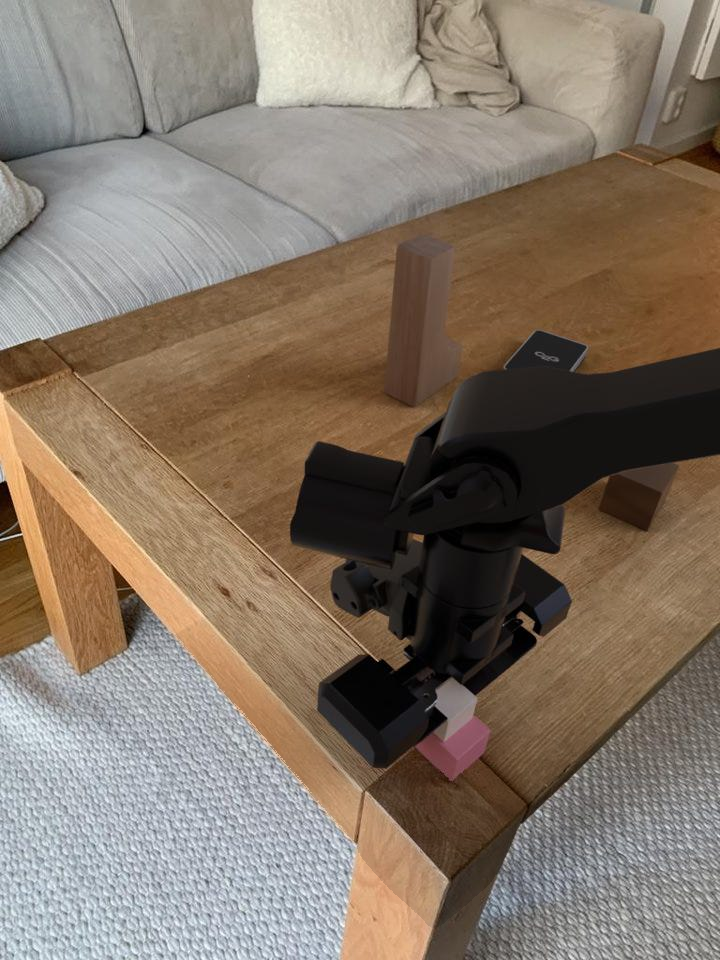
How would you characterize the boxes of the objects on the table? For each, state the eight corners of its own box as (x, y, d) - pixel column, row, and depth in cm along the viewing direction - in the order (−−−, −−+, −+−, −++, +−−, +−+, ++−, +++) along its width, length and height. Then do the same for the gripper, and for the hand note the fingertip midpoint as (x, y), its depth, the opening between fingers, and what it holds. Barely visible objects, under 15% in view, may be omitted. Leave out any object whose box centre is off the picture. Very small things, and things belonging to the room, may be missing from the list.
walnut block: (664, 503, 81) (679, 465, 78) (647, 531, 78) (662, 492, 75) (616, 483, 83) (629, 445, 80) (598, 509, 80) (611, 471, 77)
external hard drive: (499, 382, 96) (501, 368, 95) (533, 342, 104) (536, 328, 102) (554, 402, 94) (558, 387, 92) (586, 359, 101) (589, 345, 100)
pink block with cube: (484, 752, 60) (497, 709, 56) (451, 782, 58) (461, 740, 54) (416, 690, 63) (424, 646, 60) (383, 716, 61) (388, 672, 58)
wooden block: (428, 362, 99) (446, 218, 87) (459, 376, 97) (482, 231, 85) (382, 393, 93) (395, 244, 82) (414, 409, 91) (431, 259, 80)
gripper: (469, 445, 58) (443, 591, 68) (259, 569, 48) (265, 718, 58) (599, 530, 52) (549, 676, 62) (390, 691, 42) (371, 833, 53)
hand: (436, 719), depth 59 cm, fingers open, 5 cm apart
